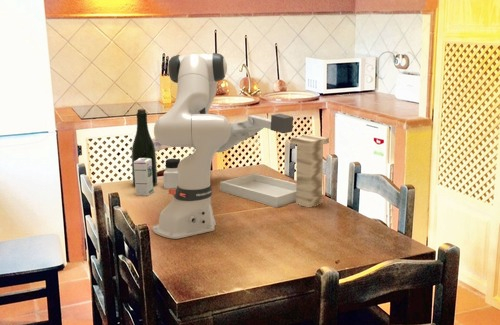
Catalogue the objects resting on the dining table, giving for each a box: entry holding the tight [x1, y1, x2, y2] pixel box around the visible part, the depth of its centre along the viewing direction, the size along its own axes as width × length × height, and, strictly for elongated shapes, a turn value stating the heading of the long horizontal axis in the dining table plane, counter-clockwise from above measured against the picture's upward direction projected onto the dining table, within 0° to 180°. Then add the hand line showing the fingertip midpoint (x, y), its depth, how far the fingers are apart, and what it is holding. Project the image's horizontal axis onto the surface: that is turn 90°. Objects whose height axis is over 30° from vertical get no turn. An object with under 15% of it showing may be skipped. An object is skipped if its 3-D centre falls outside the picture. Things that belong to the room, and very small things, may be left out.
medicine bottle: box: [163, 158, 181, 190], centre depth 260 cm, size 7×7×12 cm
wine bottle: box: [131, 108, 158, 187], centre depth 260 cm, size 10×10×33 cm
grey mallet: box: [247, 113, 294, 134], centre depth 243 cm, size 5×21×6 cm, turn 45°
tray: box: [219, 172, 296, 208], centre depth 249 cm, size 20×32×4 cm, turn 44°
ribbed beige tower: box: [290, 134, 330, 208], centre depth 232 cm, size 10×10×26 cm
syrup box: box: [134, 158, 154, 197], centre depth 249 cm, size 6×6×14 cm
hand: (256, 119), depth 248 cm, fingers closed on grey mallet, 3 cm apart
